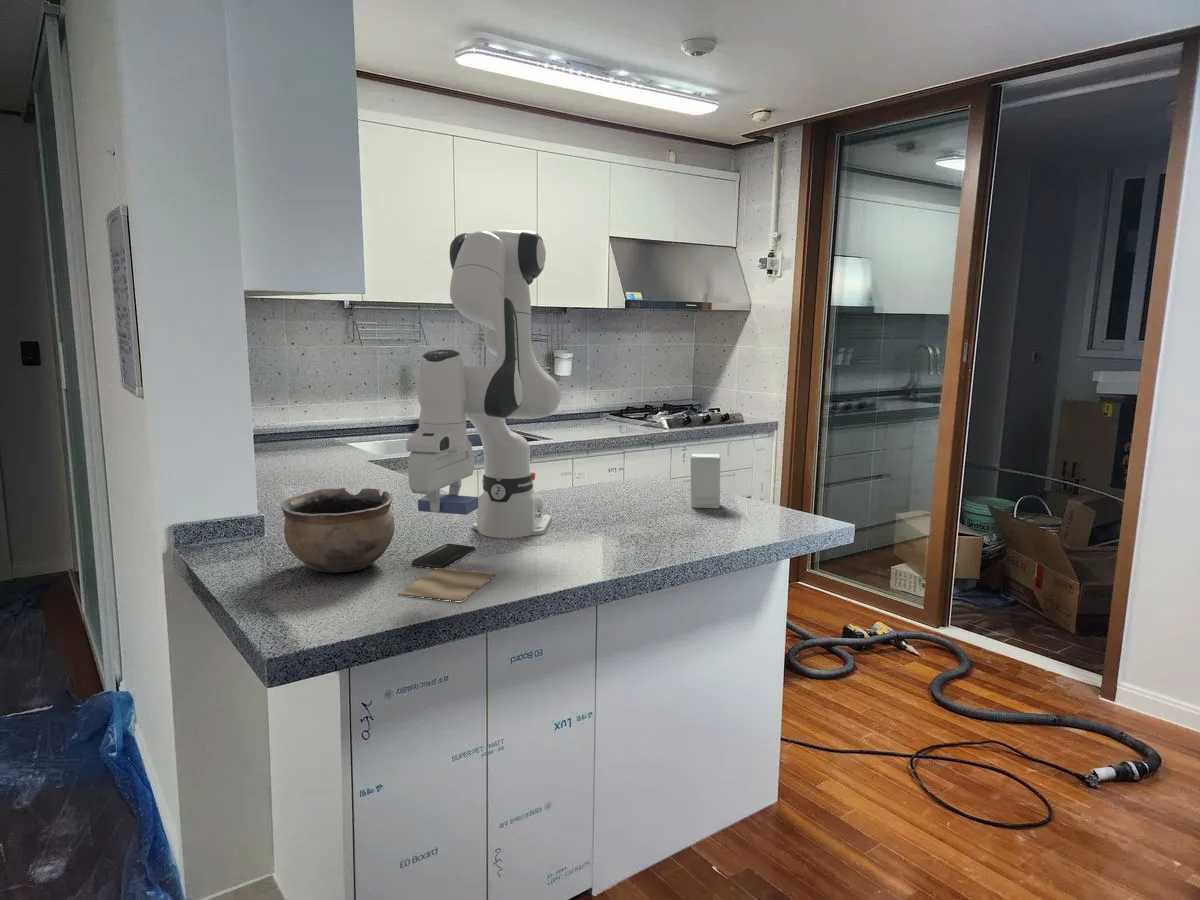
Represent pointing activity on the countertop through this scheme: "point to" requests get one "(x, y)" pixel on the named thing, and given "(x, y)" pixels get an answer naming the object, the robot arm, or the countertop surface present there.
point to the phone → (443, 556)
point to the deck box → (451, 504)
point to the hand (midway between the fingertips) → (444, 507)
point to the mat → (447, 584)
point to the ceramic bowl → (338, 528)
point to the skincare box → (705, 480)
